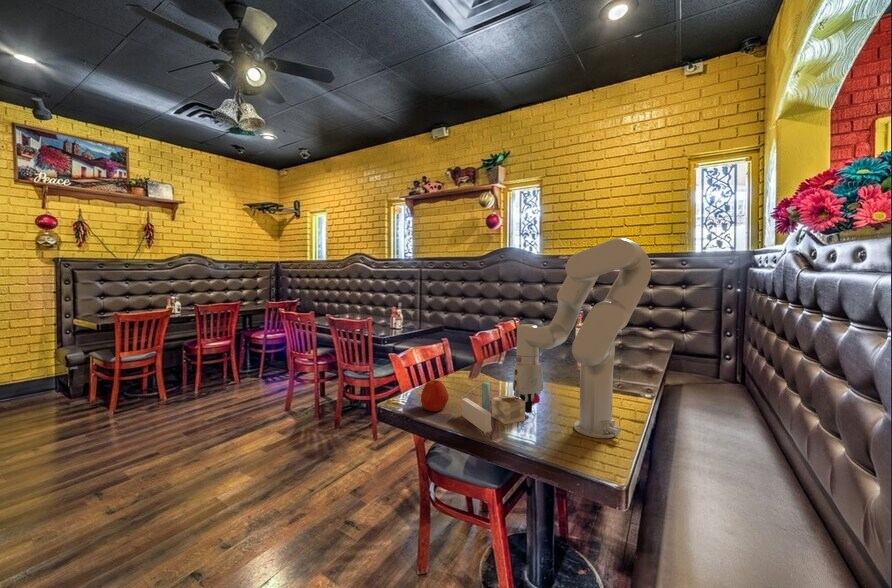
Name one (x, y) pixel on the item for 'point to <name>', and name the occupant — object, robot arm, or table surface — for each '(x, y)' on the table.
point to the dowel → (486, 396)
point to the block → (508, 409)
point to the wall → (476, 415)
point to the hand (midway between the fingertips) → (527, 411)
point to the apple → (434, 396)
